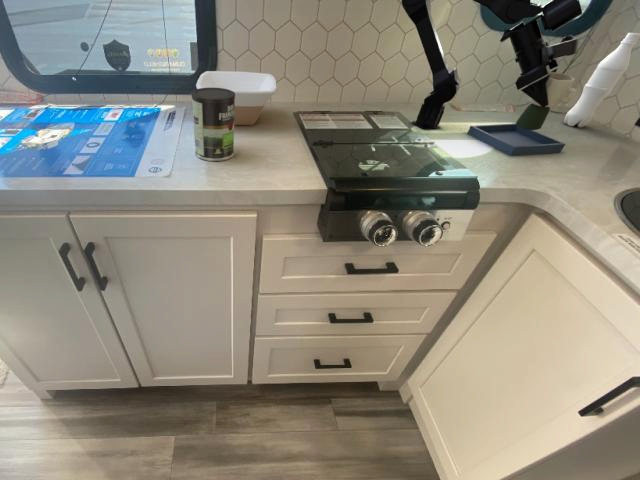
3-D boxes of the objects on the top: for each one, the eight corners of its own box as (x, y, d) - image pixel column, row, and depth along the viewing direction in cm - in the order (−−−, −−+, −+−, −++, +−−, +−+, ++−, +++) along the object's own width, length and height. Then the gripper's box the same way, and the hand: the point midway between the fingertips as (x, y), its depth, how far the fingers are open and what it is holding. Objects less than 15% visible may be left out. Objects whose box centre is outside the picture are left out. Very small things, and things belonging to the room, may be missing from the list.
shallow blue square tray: (509, 155, 96) (514, 147, 94) (466, 133, 108) (470, 125, 106) (560, 152, 99) (565, 143, 97) (513, 130, 111) (517, 123, 109)
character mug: (551, 130, 97) (587, 78, 87) (543, 138, 94) (579, 84, 84) (511, 118, 102) (540, 68, 93) (501, 125, 99) (531, 74, 89)
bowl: (271, 108, 120) (274, 73, 112) (274, 133, 102) (278, 93, 95) (203, 105, 120) (202, 69, 112) (195, 130, 102) (192, 89, 95)
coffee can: (241, 151, 92) (243, 91, 82) (219, 165, 85) (219, 101, 75) (210, 143, 95) (208, 84, 85) (186, 155, 89) (182, 93, 79)
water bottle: (564, 126, 116) (624, 33, 99) (558, 120, 121) (615, 30, 103) (588, 129, 114) (655, 36, 97) (582, 123, 119) (644, 33, 102)
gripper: (564, 23, 78) (585, 90, 81) (575, 19, 88) (593, 78, 91) (505, 59, 87) (526, 117, 90) (522, 51, 97) (540, 103, 100)
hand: (548, 103), depth 92 cm, fingers closed on character mug, 7 cm apart
